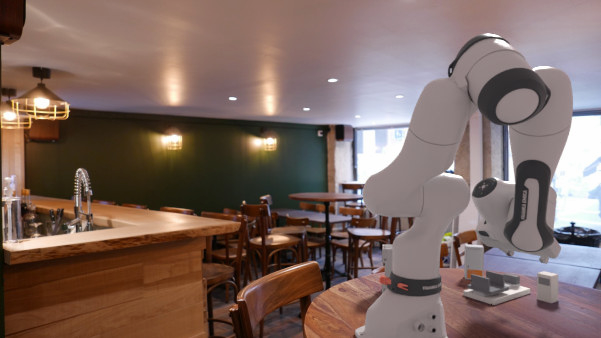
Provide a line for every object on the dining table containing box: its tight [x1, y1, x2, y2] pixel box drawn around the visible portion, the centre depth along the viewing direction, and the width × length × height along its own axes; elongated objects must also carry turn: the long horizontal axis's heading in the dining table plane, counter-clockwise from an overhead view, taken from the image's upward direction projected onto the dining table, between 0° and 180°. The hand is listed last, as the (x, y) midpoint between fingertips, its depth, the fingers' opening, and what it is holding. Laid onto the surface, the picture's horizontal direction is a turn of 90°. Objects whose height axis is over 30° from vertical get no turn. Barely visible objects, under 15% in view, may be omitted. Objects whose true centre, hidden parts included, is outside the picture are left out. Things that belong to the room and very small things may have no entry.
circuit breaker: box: [381, 243, 393, 295], centre depth 120 cm, size 8×14×15 cm, turn 78°
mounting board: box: [462, 285, 531, 306], centre depth 121 cm, size 20×10×2 cm, turn 122°
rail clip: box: [466, 270, 521, 297], centre depth 121 cm, size 20×8×6 cm, turn 122°
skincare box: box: [463, 243, 485, 281], centre depth 137 cm, size 6×4×12 cm
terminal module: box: [536, 270, 559, 304], centre depth 115 cm, size 4×4×8 cm
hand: (527, 258), depth 109 cm, fingers open, 8 cm apart
